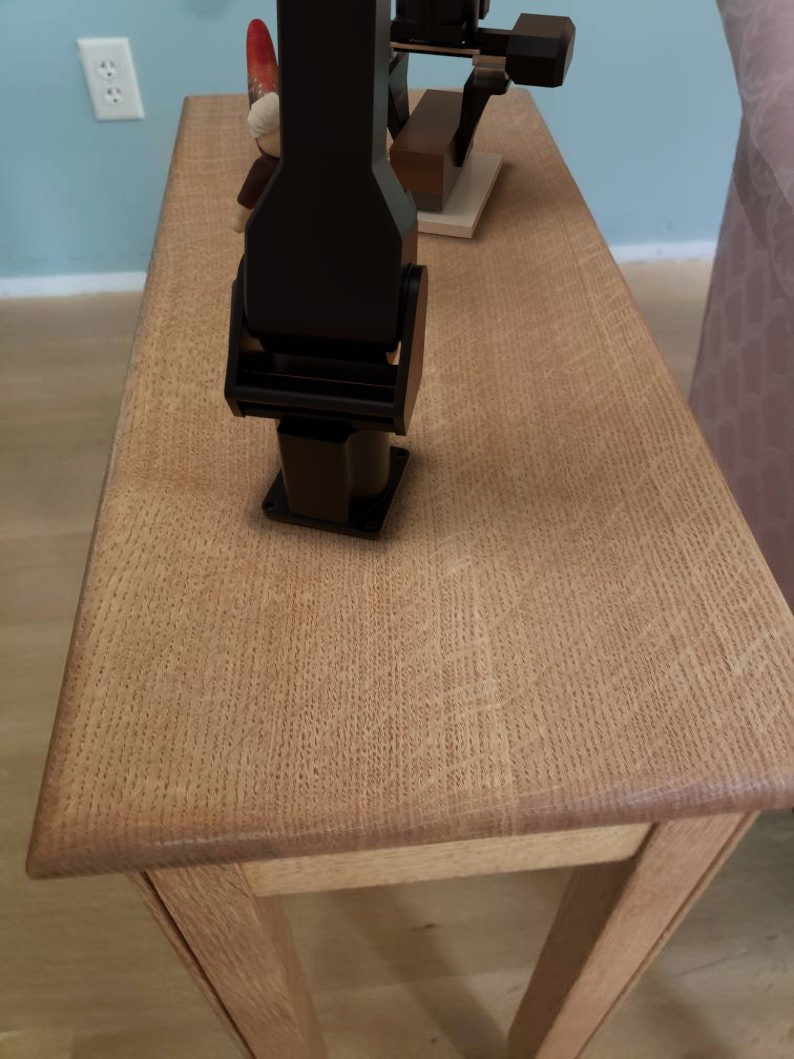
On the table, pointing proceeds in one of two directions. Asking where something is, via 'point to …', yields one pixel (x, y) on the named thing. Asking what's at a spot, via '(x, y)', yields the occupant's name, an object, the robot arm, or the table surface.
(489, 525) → the table surface
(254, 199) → the grandmother figurine
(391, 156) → the tall brown wooden block
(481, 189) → the tile
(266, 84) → the red tapered piece
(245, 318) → the robot arm
